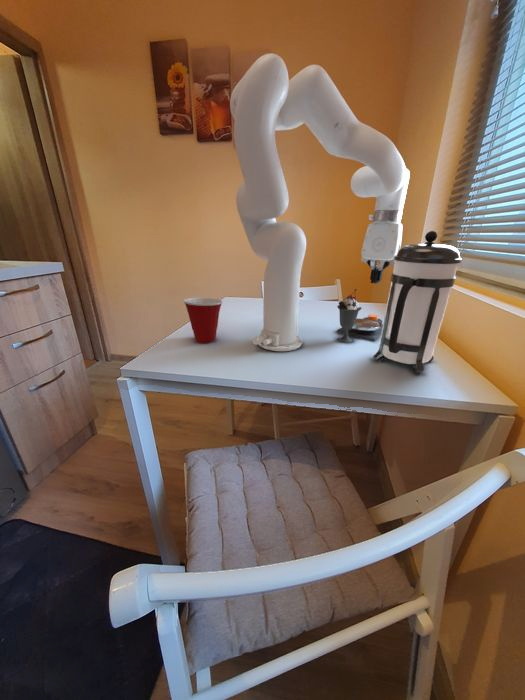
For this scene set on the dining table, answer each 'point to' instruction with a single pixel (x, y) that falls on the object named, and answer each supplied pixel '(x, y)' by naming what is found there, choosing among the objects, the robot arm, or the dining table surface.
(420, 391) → the dining table surface
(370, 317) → the tare button
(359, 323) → the pan
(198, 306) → the plastic cup
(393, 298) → the coffee press
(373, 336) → the scale
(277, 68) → the robot arm
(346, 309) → the sundae
